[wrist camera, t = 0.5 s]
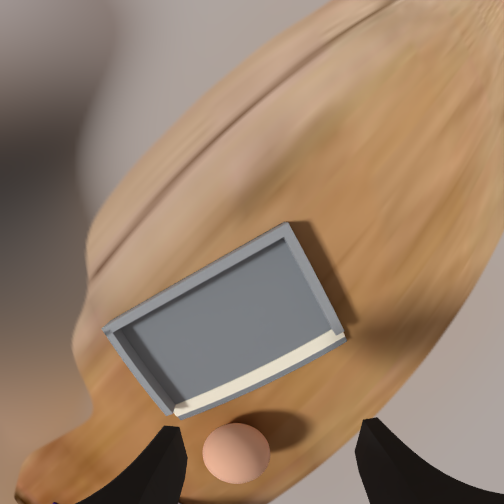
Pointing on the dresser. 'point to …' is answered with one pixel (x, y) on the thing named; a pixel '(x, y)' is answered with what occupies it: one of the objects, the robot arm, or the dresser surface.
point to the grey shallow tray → (228, 326)
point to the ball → (236, 453)
